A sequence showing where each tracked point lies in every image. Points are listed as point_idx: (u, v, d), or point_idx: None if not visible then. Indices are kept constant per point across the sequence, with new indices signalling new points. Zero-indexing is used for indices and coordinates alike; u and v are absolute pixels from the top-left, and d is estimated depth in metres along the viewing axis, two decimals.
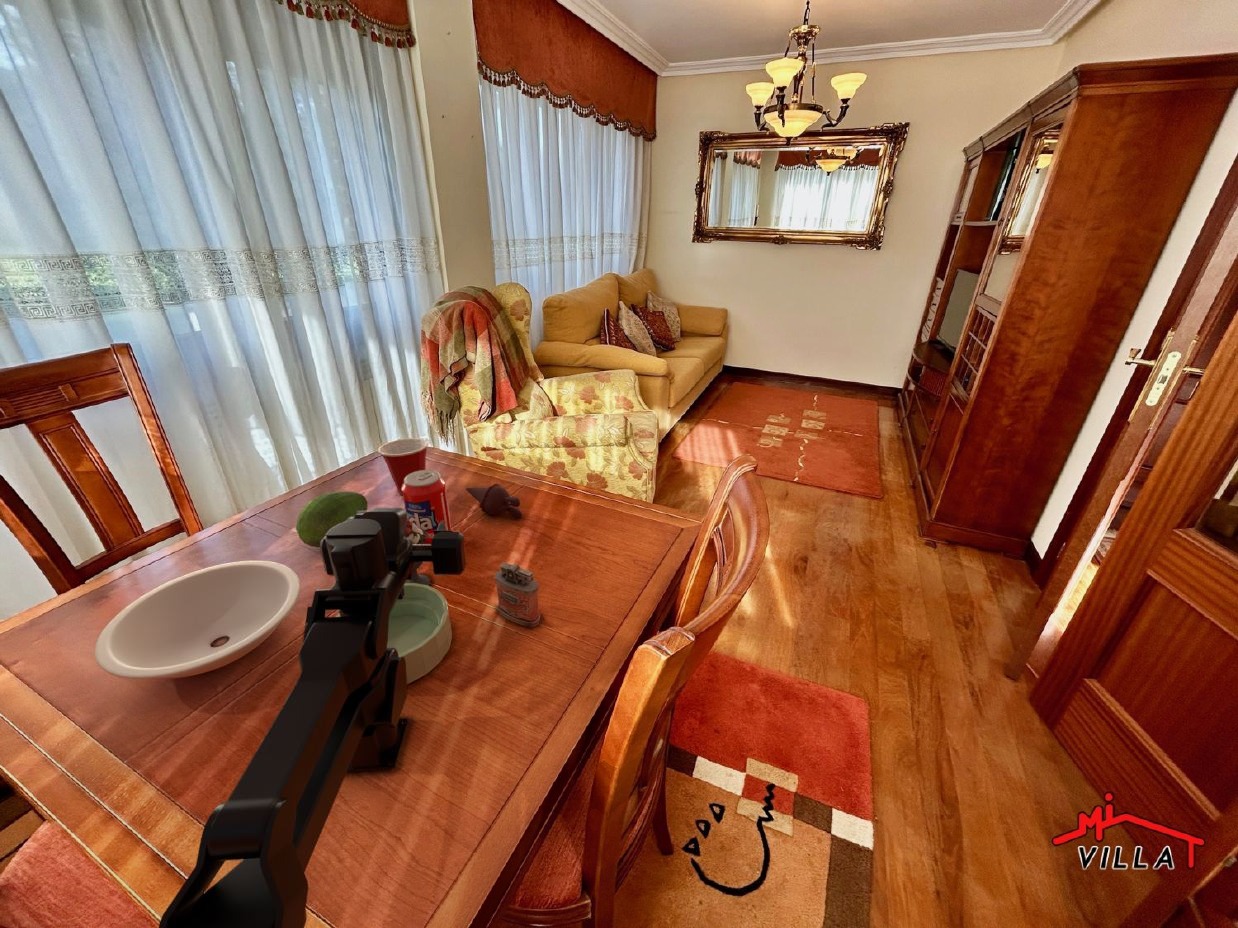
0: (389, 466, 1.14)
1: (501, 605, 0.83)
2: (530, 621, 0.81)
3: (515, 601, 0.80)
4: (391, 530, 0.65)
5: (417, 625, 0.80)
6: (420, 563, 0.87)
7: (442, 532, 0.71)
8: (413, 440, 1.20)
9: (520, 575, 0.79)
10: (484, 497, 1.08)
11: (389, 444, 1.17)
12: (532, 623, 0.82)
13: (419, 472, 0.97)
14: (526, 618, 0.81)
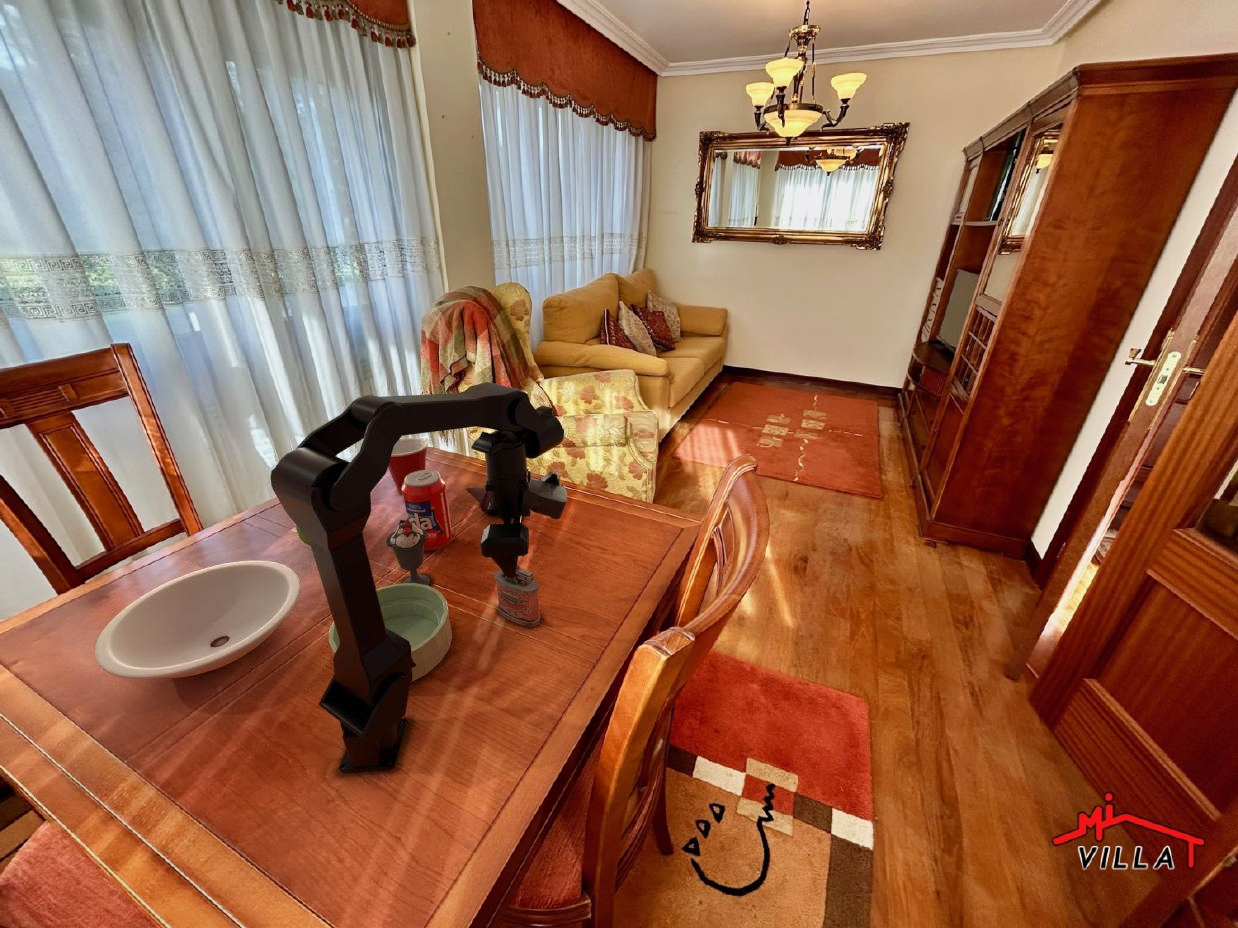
0: (389, 466, 1.14)
1: (501, 605, 0.83)
2: (530, 621, 0.81)
3: (515, 601, 0.80)
4: (551, 495, 0.73)
5: (417, 625, 0.80)
6: (420, 563, 0.87)
7: None
8: (413, 440, 1.20)
9: (520, 575, 0.79)
10: (484, 497, 1.08)
11: None
12: (532, 623, 0.82)
13: (419, 472, 0.97)
14: (526, 618, 0.81)
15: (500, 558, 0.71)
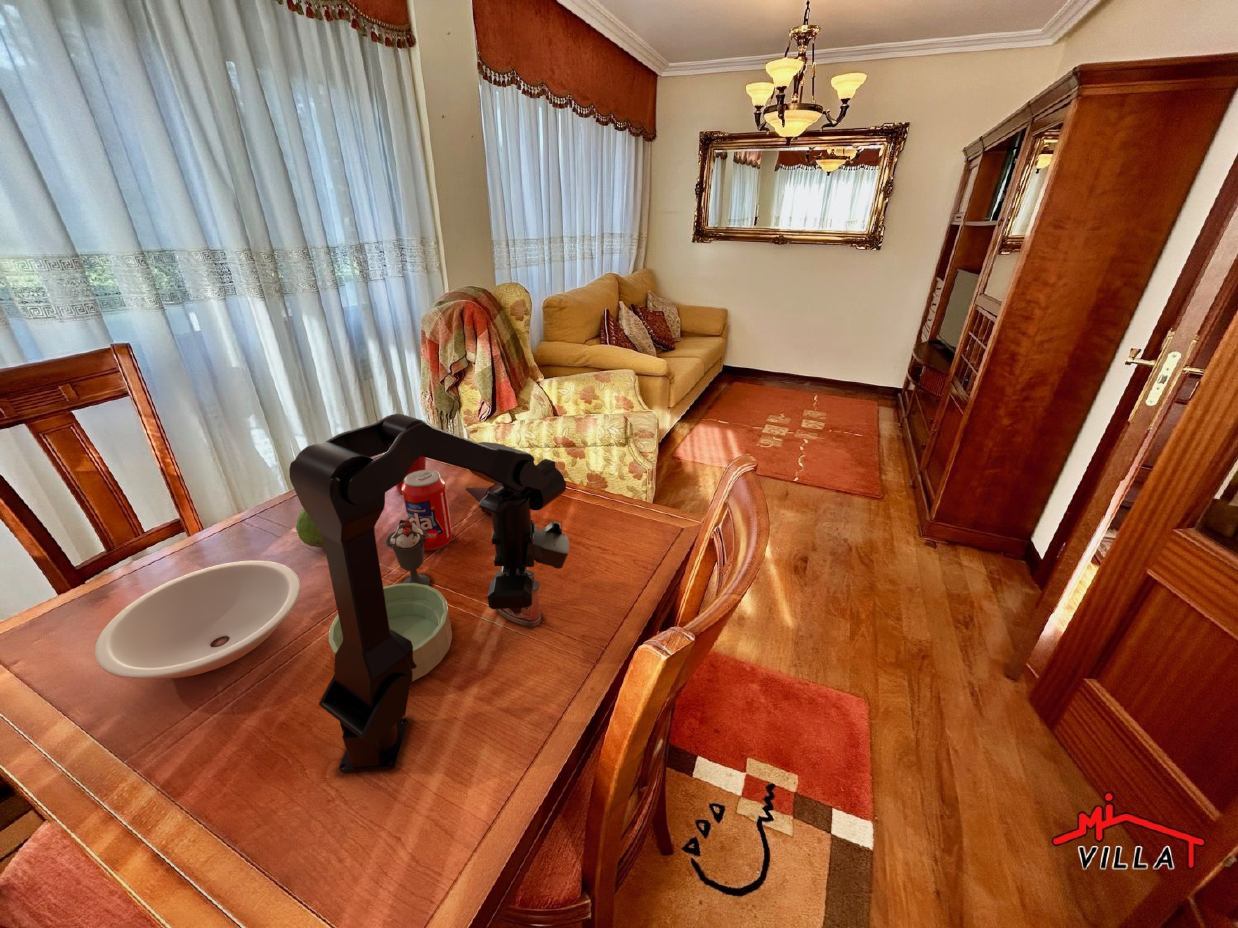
0: None
1: None
2: (531, 621, 0.82)
3: None
4: (553, 546, 0.77)
5: (417, 625, 0.80)
6: (420, 563, 0.87)
7: None
8: None
9: None
10: None
11: None
12: (533, 623, 0.82)
13: (419, 472, 0.97)
14: (527, 618, 0.82)
15: None
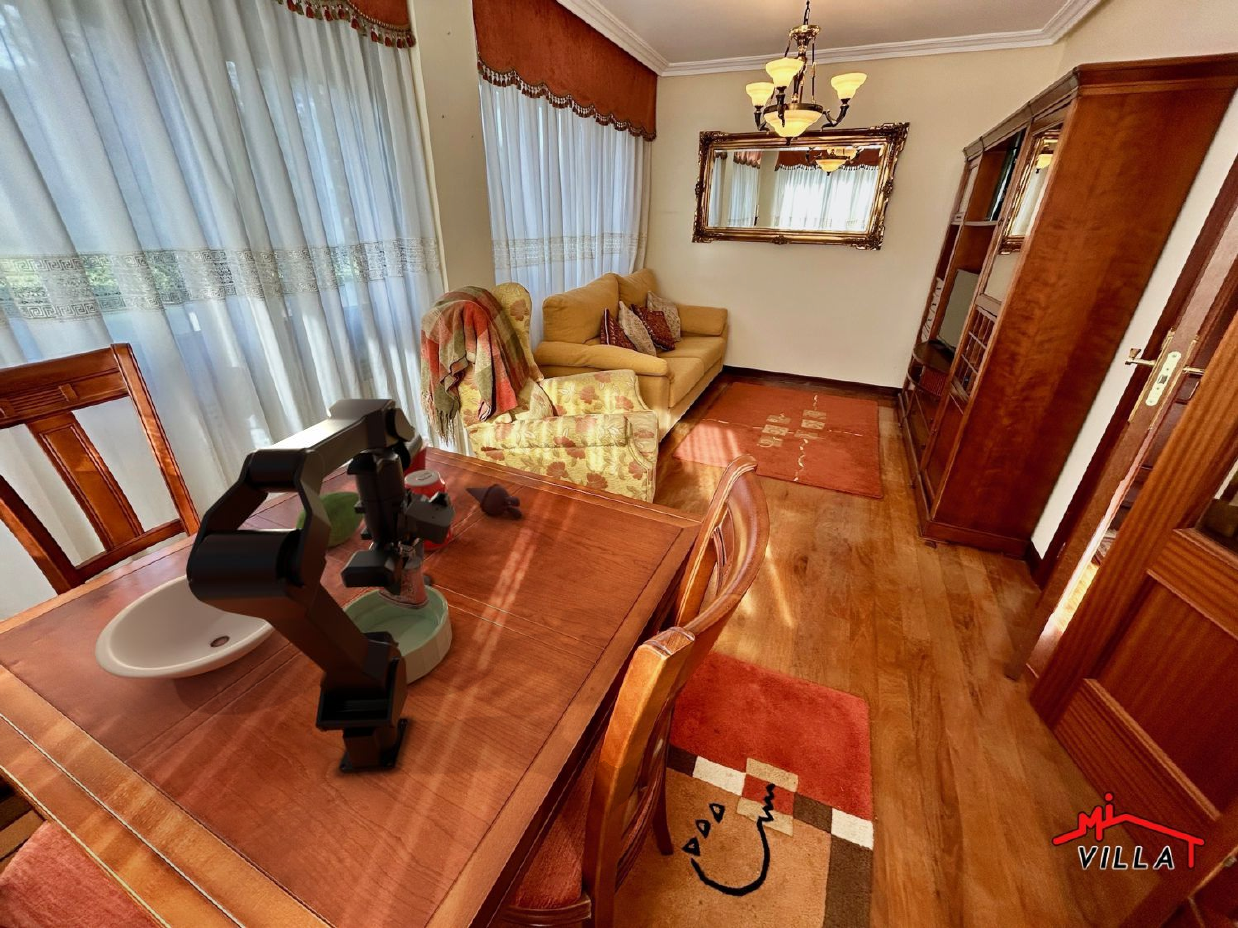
0: None
1: (382, 589, 0.73)
2: (416, 604, 0.71)
3: None
4: (431, 518, 0.66)
5: (417, 625, 0.80)
6: None
7: (400, 570, 0.64)
8: None
9: None
10: (484, 497, 1.08)
11: None
12: (418, 606, 0.72)
13: (419, 472, 0.97)
14: (411, 601, 0.71)
15: None
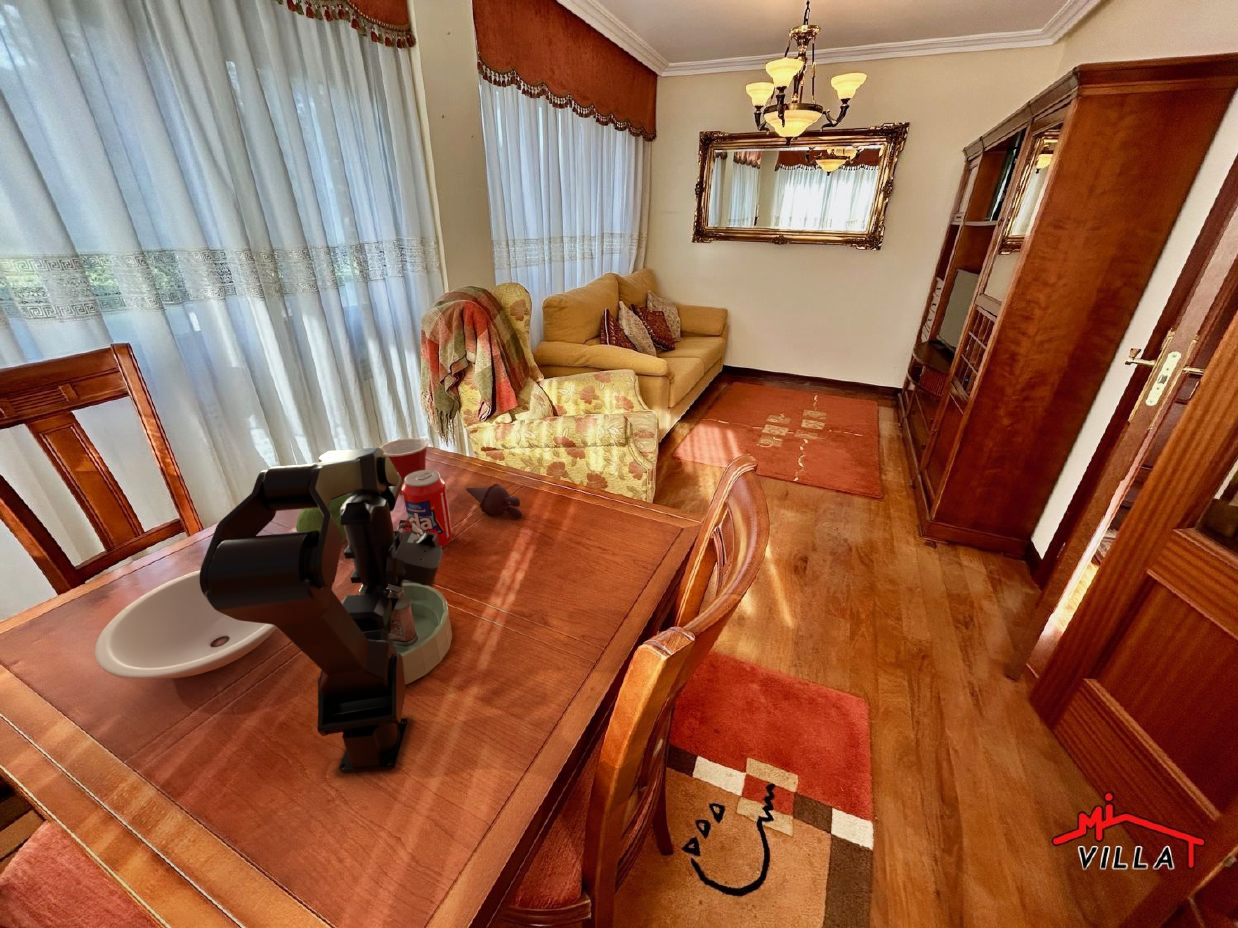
0: None
1: None
2: (405, 641, 0.73)
3: None
4: (419, 561, 0.68)
5: (417, 625, 0.80)
6: None
7: (390, 613, 0.66)
8: (413, 440, 1.20)
9: None
10: (484, 497, 1.08)
11: (389, 444, 1.17)
12: (408, 643, 0.73)
13: (419, 472, 0.97)
14: (400, 639, 0.73)
15: None
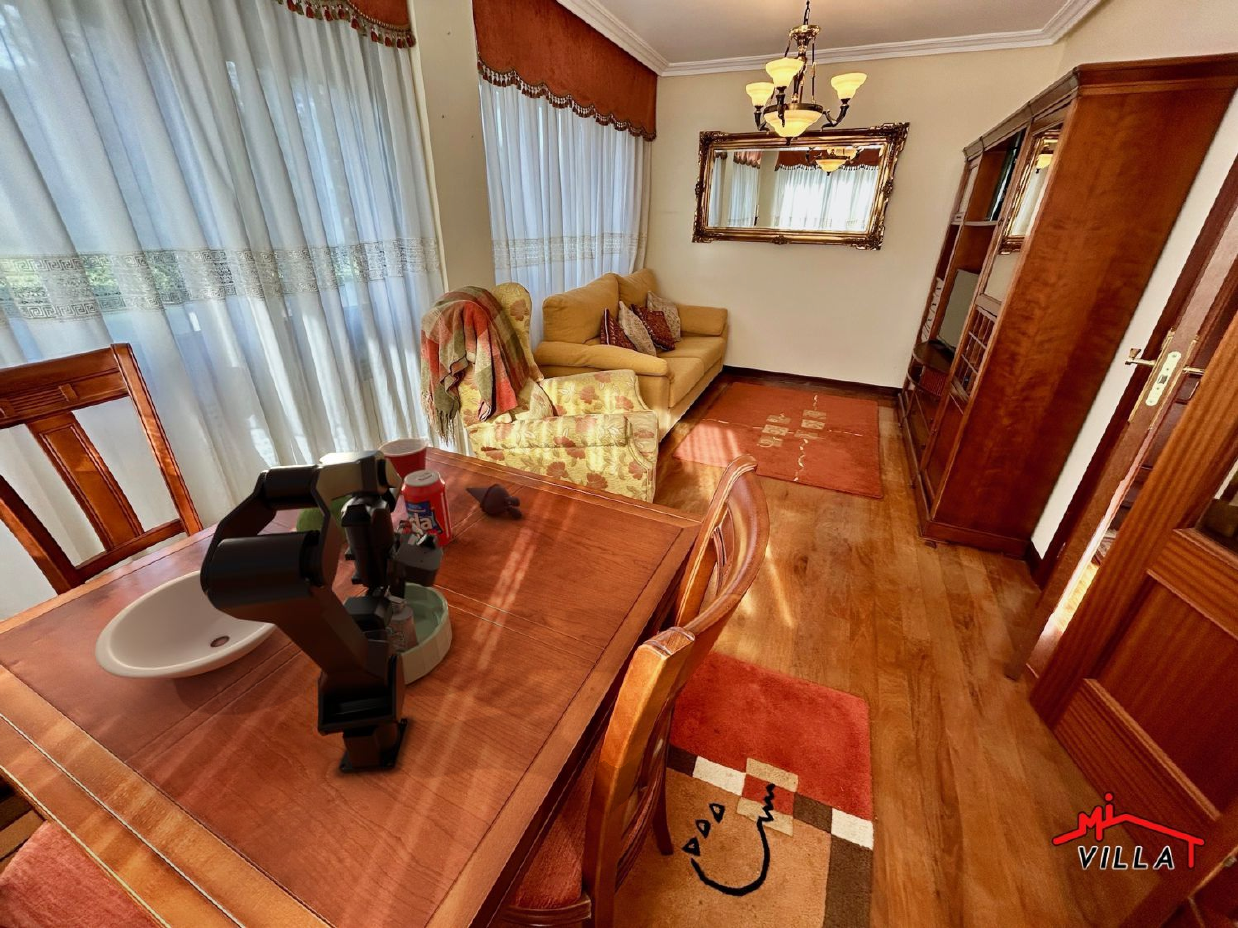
0: None
1: None
2: None
3: (388, 632, 0.73)
4: (420, 562, 0.69)
5: (417, 625, 0.80)
6: None
7: (390, 615, 0.66)
8: (413, 440, 1.20)
9: None
10: (484, 497, 1.08)
11: (389, 444, 1.17)
12: None
13: (419, 472, 0.97)
14: (403, 649, 0.74)
15: None
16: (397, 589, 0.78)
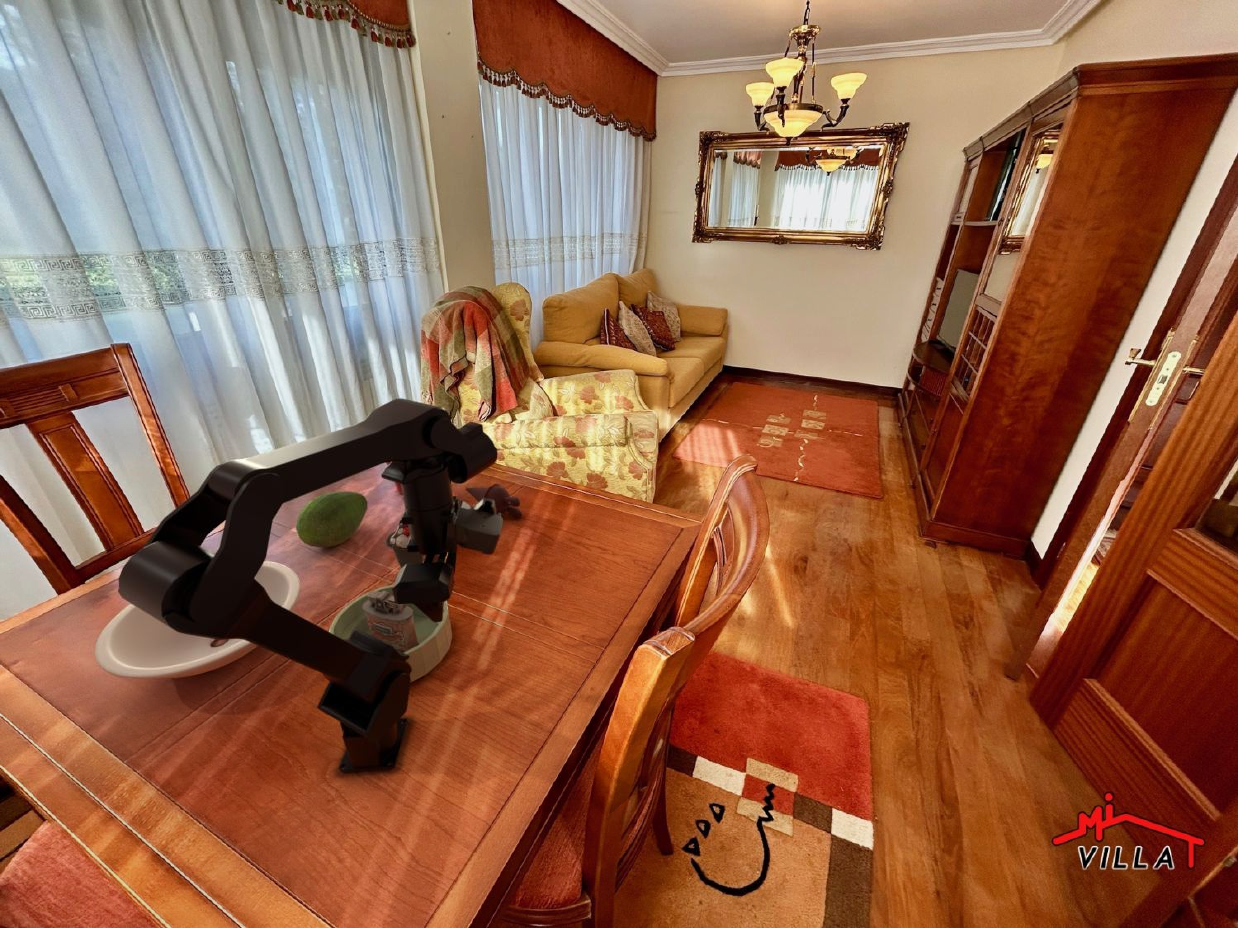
0: None
1: None
2: None
3: (388, 632, 0.73)
4: (481, 527, 0.63)
5: (417, 625, 0.80)
6: None
7: (453, 584, 0.60)
8: None
9: (390, 603, 0.72)
10: (484, 497, 1.08)
11: None
12: None
13: None
14: (403, 649, 0.74)
15: None
16: (448, 561, 0.72)
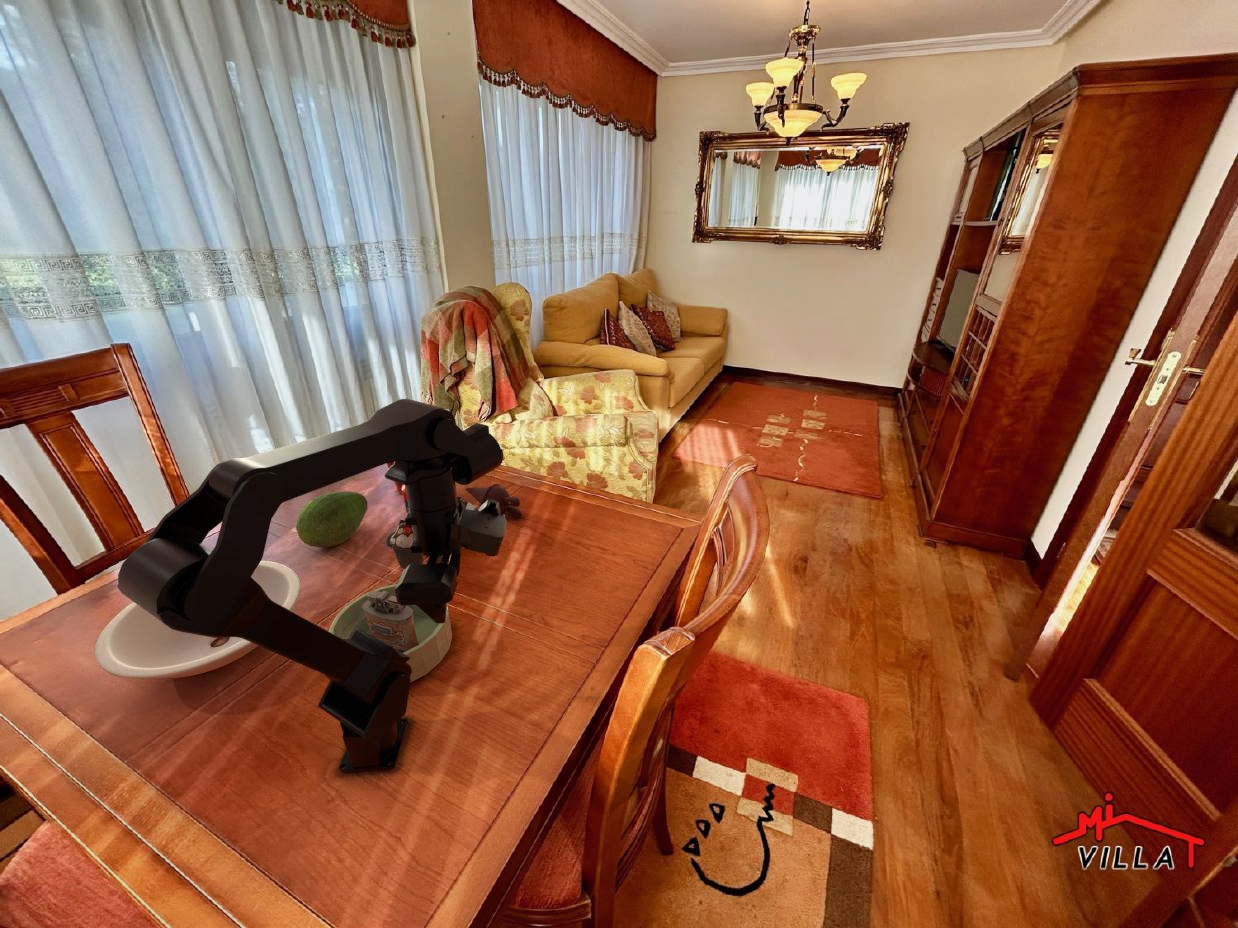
0: (389, 466, 1.14)
1: None
2: None
3: (388, 632, 0.73)
4: (485, 529, 0.63)
5: (417, 625, 0.80)
6: (420, 563, 0.87)
7: (455, 585, 0.60)
8: None
9: (390, 603, 0.72)
10: (484, 497, 1.08)
11: None
12: None
13: None
14: (403, 649, 0.74)
15: None
16: (452, 562, 0.71)
